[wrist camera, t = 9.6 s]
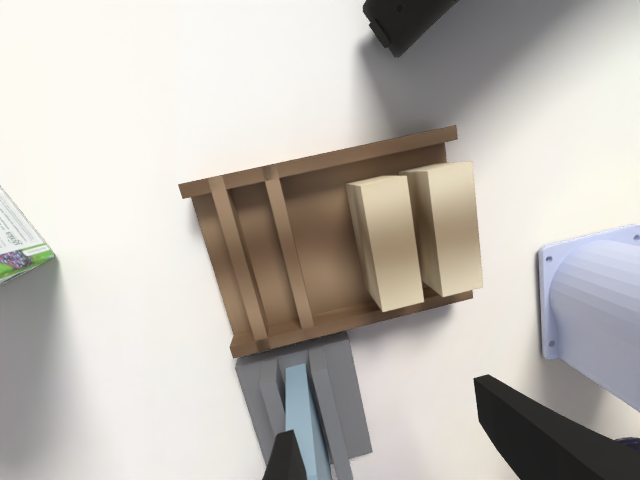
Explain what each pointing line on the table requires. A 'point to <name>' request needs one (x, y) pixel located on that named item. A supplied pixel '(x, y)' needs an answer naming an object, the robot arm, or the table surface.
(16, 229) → the syrup box
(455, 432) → the table surface
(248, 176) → the rack
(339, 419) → the holder
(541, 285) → the robot arm
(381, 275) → the offcut
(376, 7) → the magazine
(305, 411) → the tall board
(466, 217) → the offcut
